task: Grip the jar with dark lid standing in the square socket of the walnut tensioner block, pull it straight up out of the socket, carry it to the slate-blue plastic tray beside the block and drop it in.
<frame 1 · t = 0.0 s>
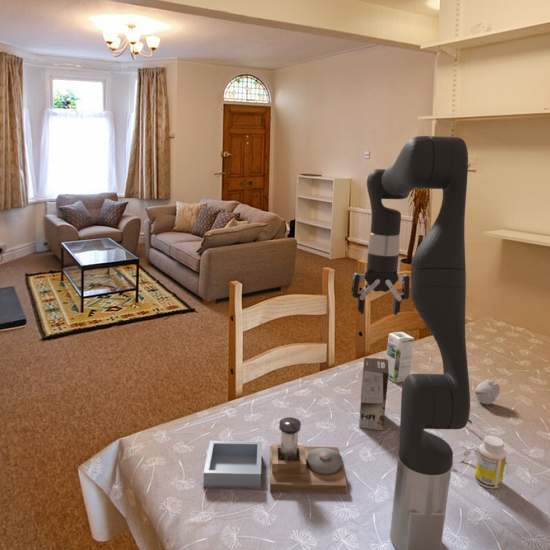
hand: (378, 313, 133), 29 cm above the table, tool pointing down, fingers open, 8 cm apart
supplement bottle: (487, 482, 114), on the table
syrup box: (396, 378, 164), on the table
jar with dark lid: (288, 464, 115), point 2 cm above the table, touching tensioner block
coffee box: (371, 421, 138), on the table
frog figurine: (485, 403, 150), on the table
tray: (234, 470, 115), on the table
tensioner block: (305, 472, 116), on the table
eyeglasses: (449, 443, 130), on the table
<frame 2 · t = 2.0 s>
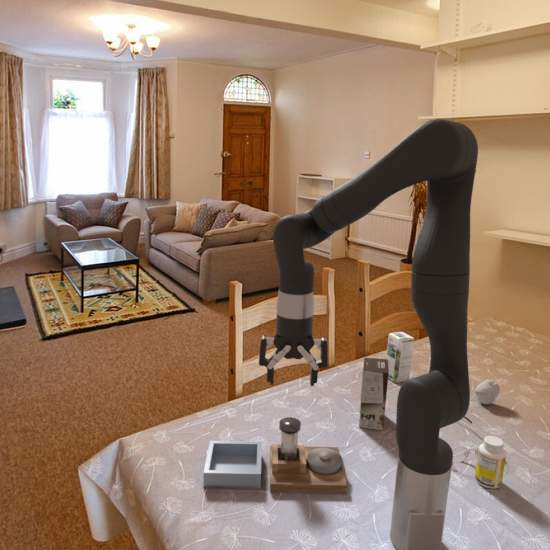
hand: (291, 383, 110), 21 cm above the table, tool pointing down, fingers open, 8 cm apart
nothing on the table moved.
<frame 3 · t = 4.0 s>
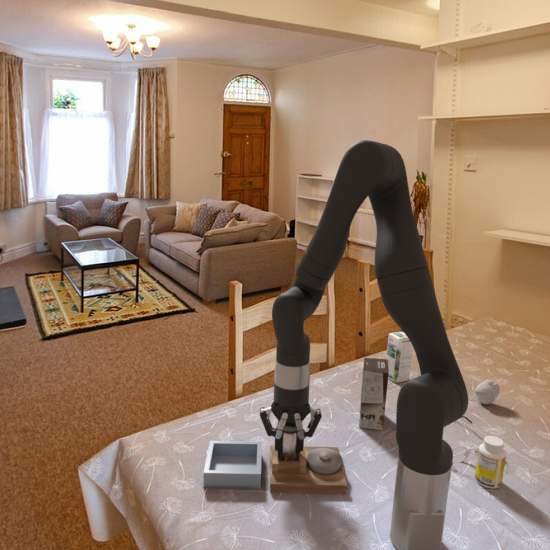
hand: (288, 451, 114), 5 cm above the table, tool pointing down, fingers closed on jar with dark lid, 3 cm apart
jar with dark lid: (288, 464, 115), point 2 cm above the table, touching gripper, tensioner block
everything else where it was.
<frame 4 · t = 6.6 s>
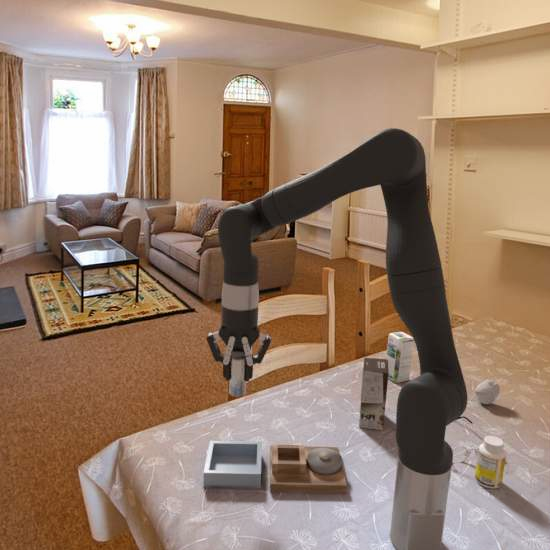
hand: (237, 379, 111), 22 cm above the table, tool pointing down, fingers closed on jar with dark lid, 3 cm apart
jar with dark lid: (237, 392, 112), point 19 cm above the table, touching gripper
everything else where it was.
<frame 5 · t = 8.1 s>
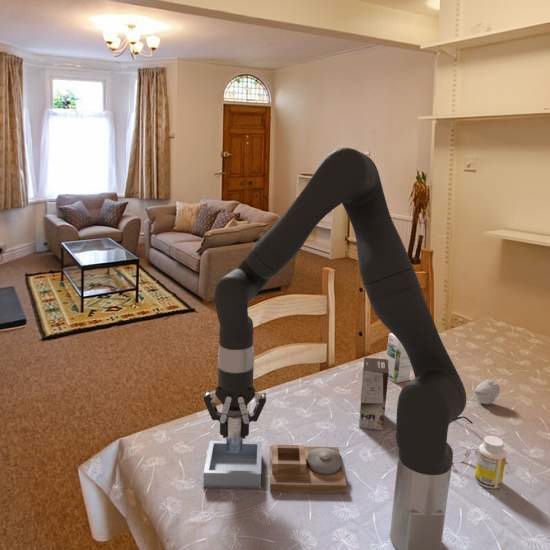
hand: (234, 435, 113), 9 cm above the table, tool pointing down, fingers closed on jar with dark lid, 3 cm apart
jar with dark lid: (234, 448, 114), point 5 cm above the table, touching gripper
everything else where it was.
when the fingers open (7 cm above the table, at t = 9.2 s): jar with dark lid drops 2 cm, resting on tray.
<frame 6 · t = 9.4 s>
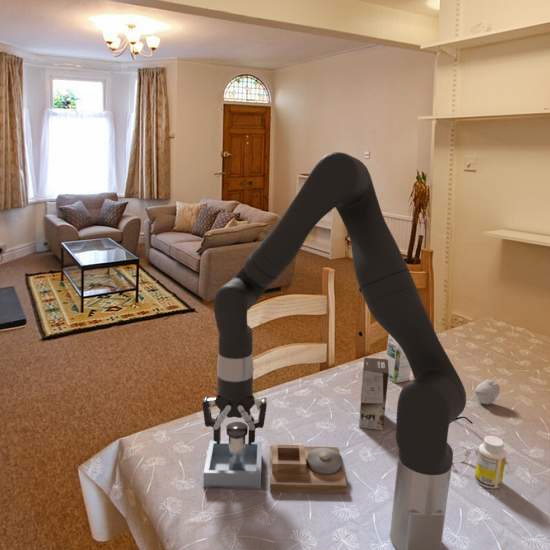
hand: (234, 442, 114), 7 cm above the table, tool pointing down, fingers open, 6 cm apart
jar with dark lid: (236, 468, 115), point 1 cm above the table, touching tray
everything else where it was.
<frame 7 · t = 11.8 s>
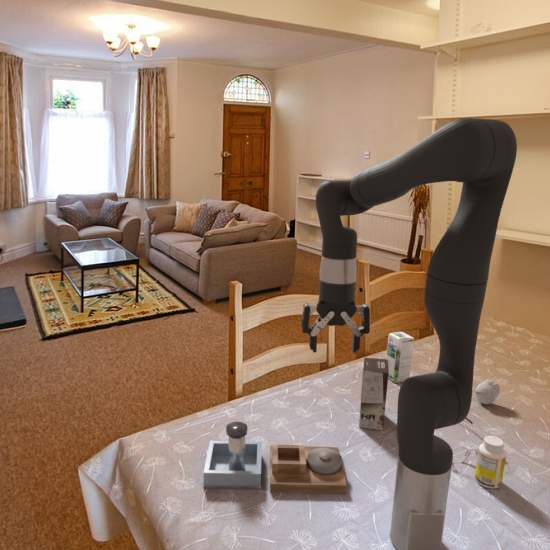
hand: (334, 351, 111), 28 cm above the table, tool pointing down, fingers open, 8 cm apart
nothing on the table moved.
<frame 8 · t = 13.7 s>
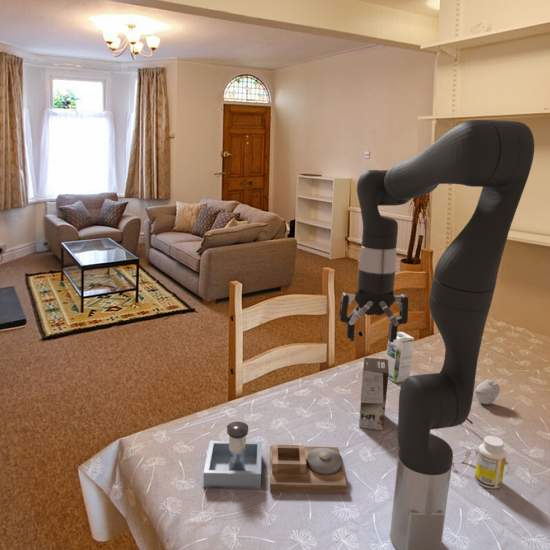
hand: (371, 340, 112), 30 cm above the table, tool pointing down, fingers open, 8 cm apart
nothing on the table moved.
at the end: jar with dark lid inside the target area on the tray (0.6 cm from its centre), point 0.6 cm above the tray's base; the gripper is holding nothing; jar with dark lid moved 11.5 cm from its start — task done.
